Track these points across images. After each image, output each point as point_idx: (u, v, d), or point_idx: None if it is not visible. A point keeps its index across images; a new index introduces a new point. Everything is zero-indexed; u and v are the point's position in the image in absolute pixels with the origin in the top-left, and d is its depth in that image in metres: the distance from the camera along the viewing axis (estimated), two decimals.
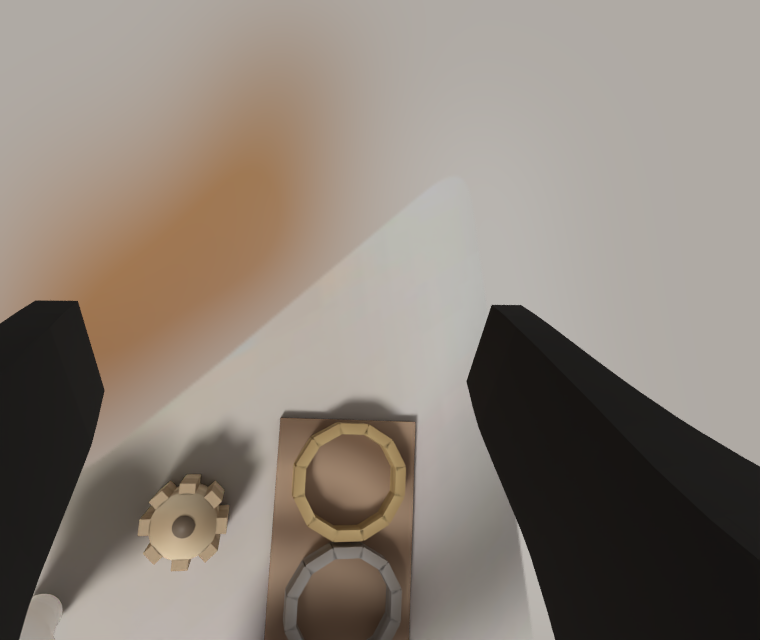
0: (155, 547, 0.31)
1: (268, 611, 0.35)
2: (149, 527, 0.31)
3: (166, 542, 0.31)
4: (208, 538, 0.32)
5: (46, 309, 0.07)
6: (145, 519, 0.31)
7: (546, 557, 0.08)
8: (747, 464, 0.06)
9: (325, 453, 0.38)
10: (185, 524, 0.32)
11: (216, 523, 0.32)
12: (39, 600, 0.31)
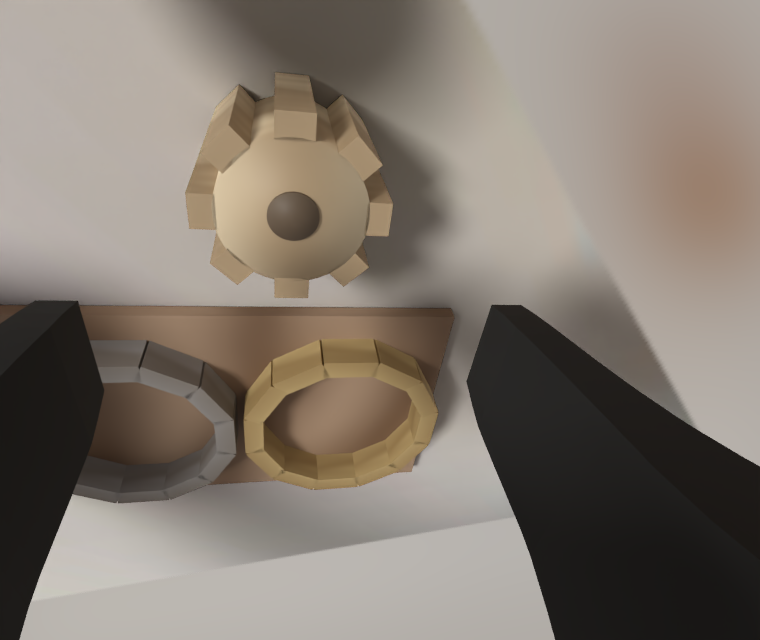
0: (244, 155, 0.12)
1: (99, 317, 0.18)
2: (295, 139, 0.12)
3: (255, 181, 0.12)
4: (264, 266, 0.14)
5: (46, 309, 0.07)
6: (315, 127, 0.12)
7: (546, 557, 0.08)
8: (747, 464, 0.06)
9: None
10: (299, 221, 0.13)
11: (297, 279, 0.14)
12: None
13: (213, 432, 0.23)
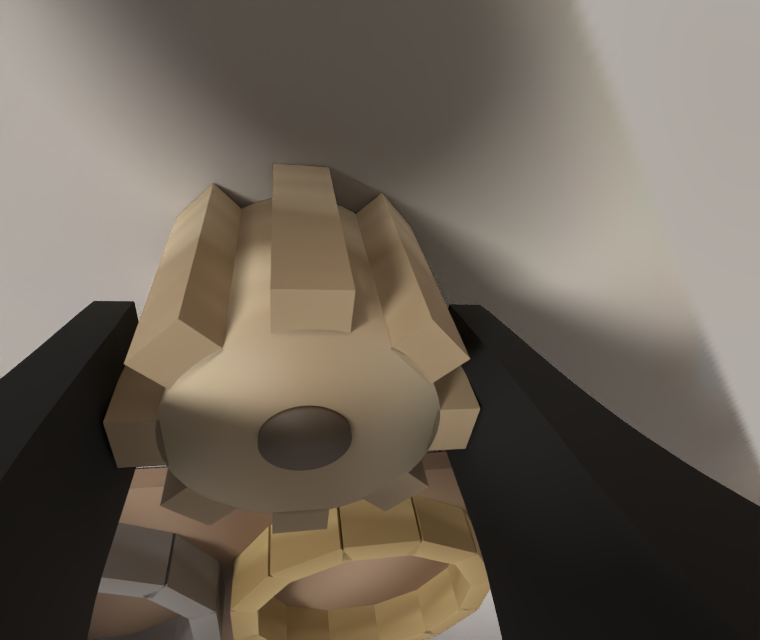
0: (212, 362, 0.06)
1: None
2: (311, 332, 0.06)
3: (236, 396, 0.07)
4: (255, 501, 0.08)
5: (107, 309, 0.07)
6: (350, 309, 0.06)
7: (496, 563, 0.07)
8: (686, 469, 0.05)
9: None
10: (316, 445, 0.07)
11: (310, 510, 0.09)
12: None
13: None
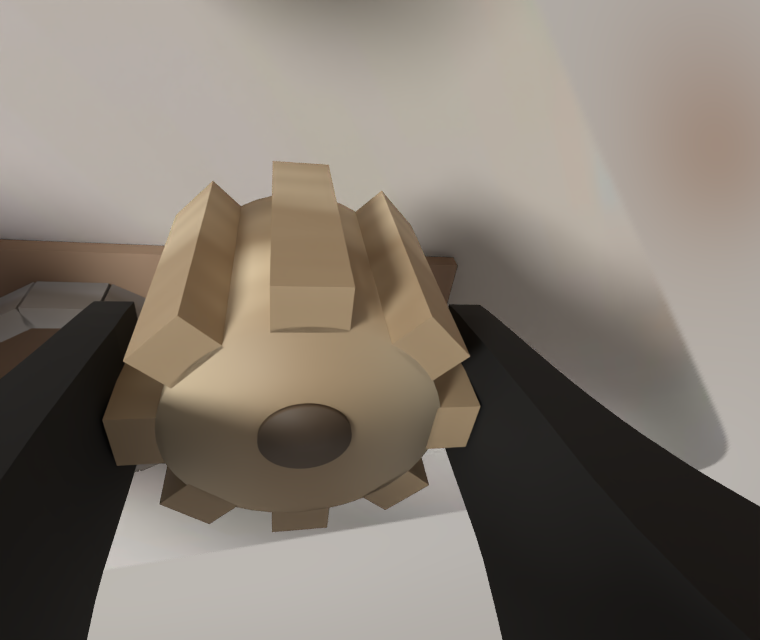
0: (212, 359, 0.06)
1: (53, 253, 0.16)
2: (311, 329, 0.06)
3: (236, 393, 0.07)
4: (255, 499, 0.08)
5: (107, 310, 0.07)
6: (350, 305, 0.06)
7: (496, 562, 0.07)
8: (686, 468, 0.05)
9: None
10: (315, 443, 0.07)
11: (309, 508, 0.09)
12: None
13: None
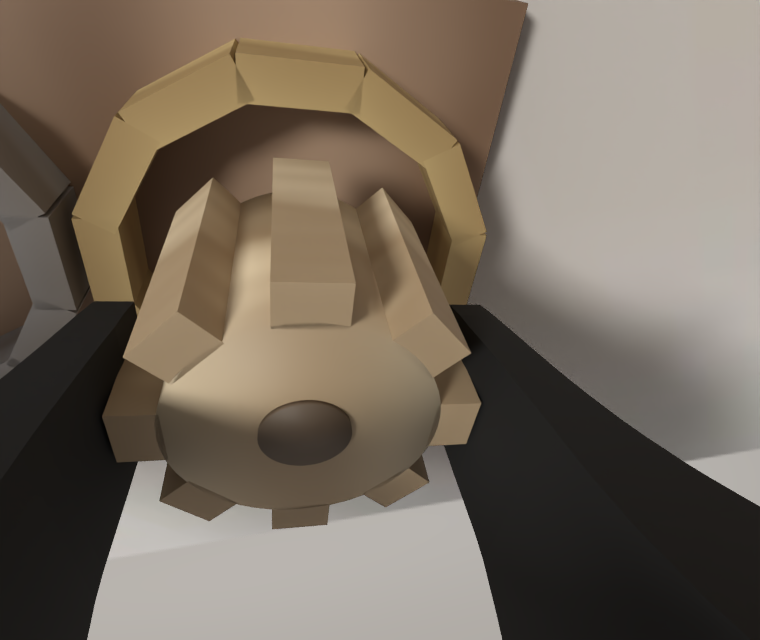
0: (211, 356, 0.06)
1: None
2: (311, 325, 0.06)
3: (235, 390, 0.07)
4: (255, 497, 0.08)
5: (107, 309, 0.07)
6: (350, 302, 0.06)
7: (496, 563, 0.07)
8: (686, 468, 0.05)
9: (377, 171, 0.11)
10: (315, 440, 0.07)
11: (309, 505, 0.09)
12: None
13: None
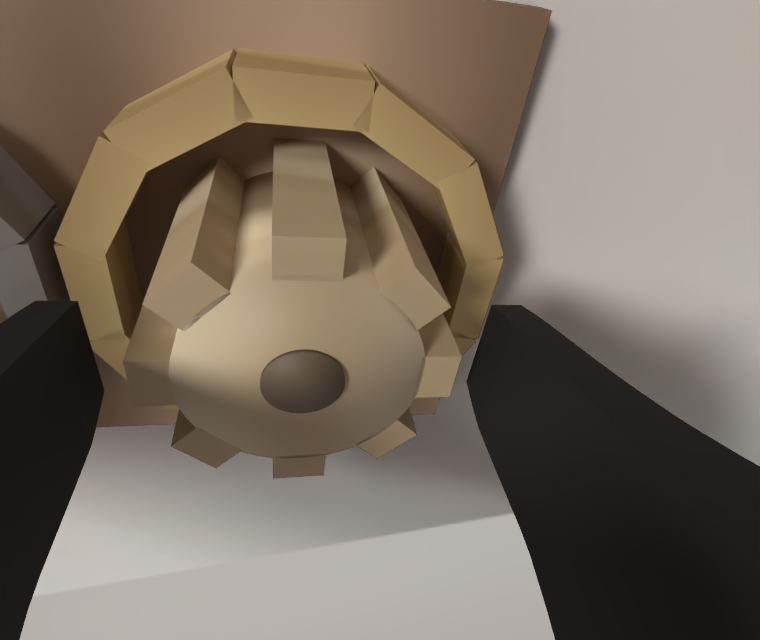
0: (220, 304, 0.07)
1: None
2: (308, 277, 0.07)
3: (241, 339, 0.07)
4: (257, 444, 0.09)
5: (46, 309, 0.07)
6: (342, 257, 0.07)
7: (546, 557, 0.08)
8: (747, 464, 0.06)
9: None
10: (312, 388, 0.08)
11: (307, 455, 0.09)
12: None
13: None
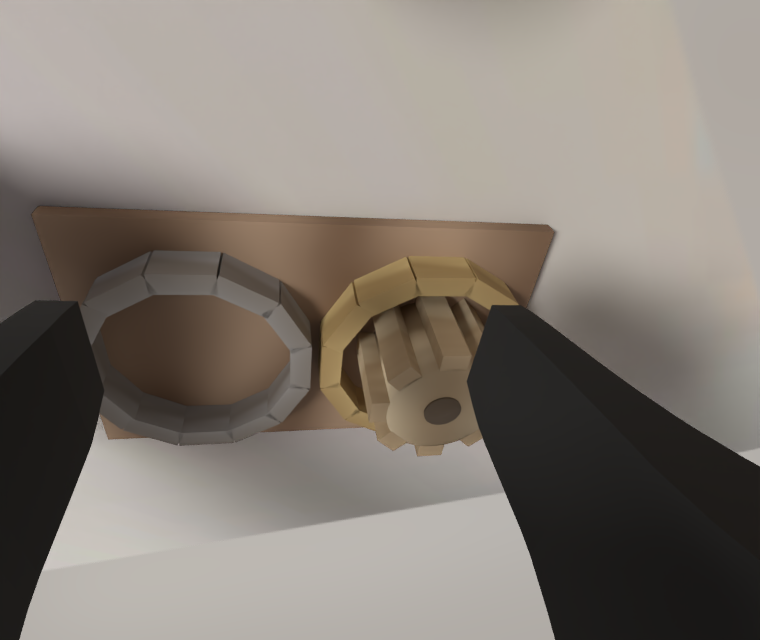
0: (417, 381, 0.17)
1: (172, 222, 0.16)
2: (453, 370, 0.17)
3: (421, 393, 0.17)
4: (415, 439, 0.19)
5: (46, 309, 0.07)
6: (468, 361, 0.17)
7: (546, 557, 0.08)
8: (747, 464, 0.06)
9: None
10: (446, 413, 0.18)
11: (435, 444, 0.19)
12: None
13: (281, 368, 0.21)
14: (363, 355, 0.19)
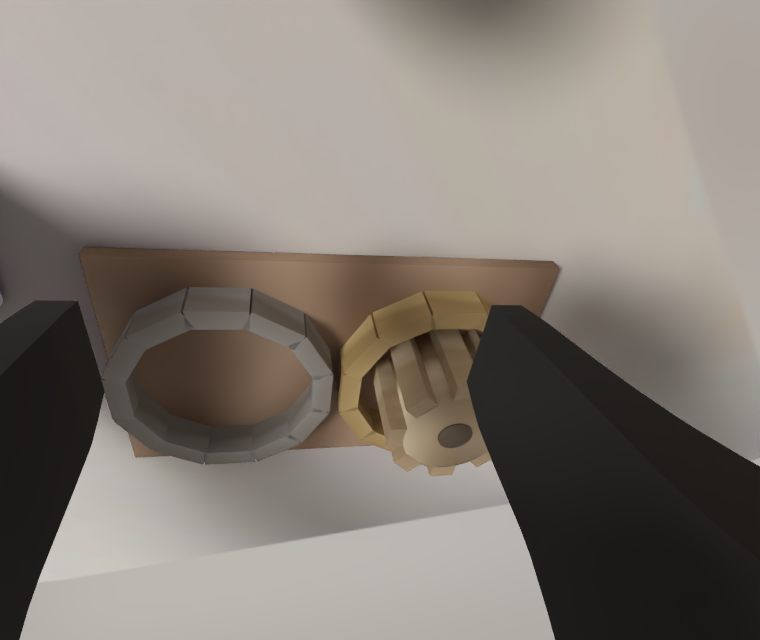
0: (433, 409, 0.18)
1: (207, 262, 0.17)
2: (467, 399, 0.18)
3: (436, 420, 0.19)
4: (428, 461, 0.20)
5: (46, 309, 0.07)
6: None
7: (546, 557, 0.08)
8: (747, 464, 0.06)
9: None
10: (458, 438, 0.19)
11: (447, 465, 0.21)
12: None
13: (301, 392, 0.22)
14: (380, 382, 0.20)
